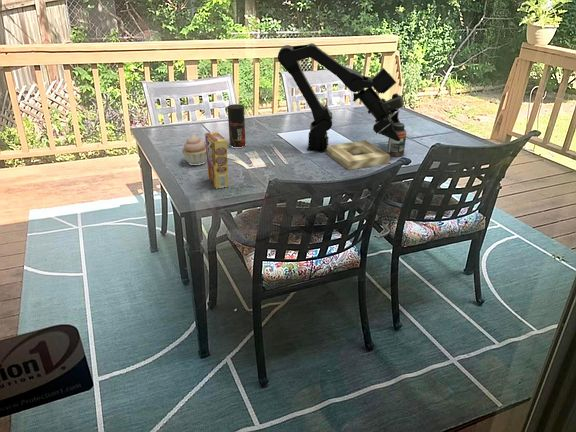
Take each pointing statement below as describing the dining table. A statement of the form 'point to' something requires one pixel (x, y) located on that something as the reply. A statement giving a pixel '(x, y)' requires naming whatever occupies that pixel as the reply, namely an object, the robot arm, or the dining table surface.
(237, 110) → the deodorant
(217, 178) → the candy box
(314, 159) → the dining table surface
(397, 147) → the supplement bottle
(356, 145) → the socket block
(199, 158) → the cupcake
